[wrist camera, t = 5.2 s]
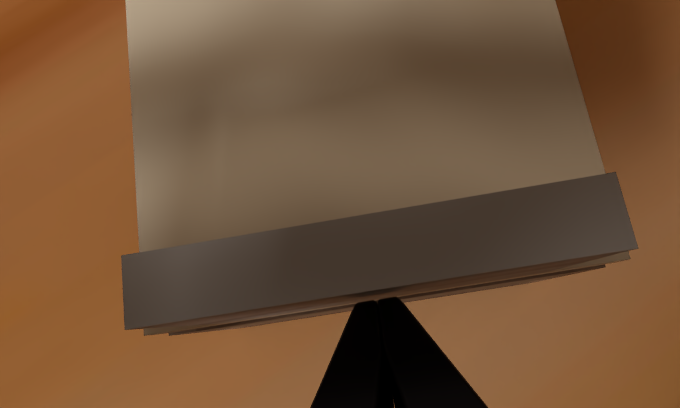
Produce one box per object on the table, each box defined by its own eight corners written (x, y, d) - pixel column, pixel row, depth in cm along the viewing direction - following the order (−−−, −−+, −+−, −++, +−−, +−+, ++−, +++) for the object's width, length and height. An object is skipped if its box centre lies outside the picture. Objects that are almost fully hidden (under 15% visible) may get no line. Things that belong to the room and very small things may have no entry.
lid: (611, 263, 12) (778, 225, 7) (162, 333, 13) (6, 348, 8) (505, -117, 15) (566, -349, 10) (138, -39, 16) (11, -216, 11)
